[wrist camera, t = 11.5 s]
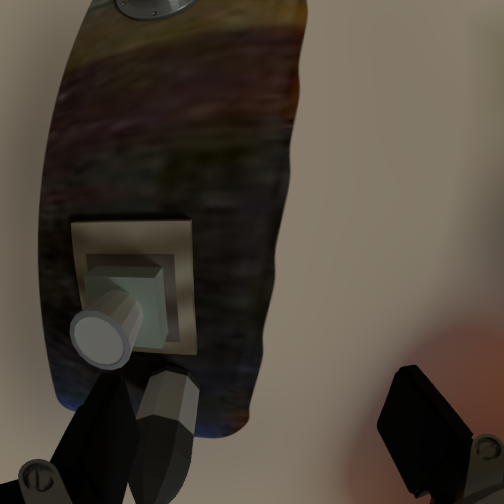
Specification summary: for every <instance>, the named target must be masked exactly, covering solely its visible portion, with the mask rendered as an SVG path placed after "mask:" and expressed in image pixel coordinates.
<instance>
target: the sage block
mask: <svg viewBox="0 0 504 504" xmlns="http://www.w3.org/2000/svg"><path fill="white" fill-rule="evenodd" d="M83 278H84V284H85V291H86V296H87V302H88V305H90V304H91V303H93V302H94V301H95V300H97V299H98V298H99V297H101V296H102V295H104V294H105V293H107V292H109V291H111V290H122V291H125V292H127V293H130V294H131V295H132V296H133V297H134V298H135V299H136V300H137V301H138V303H139V304H140V306H141V308H142V313H143V319H142V323H141V326H140V329H139V332H138V334H137V337H136V340H135V343H134V346H133V347H146V348H160V349H162V348H163V345H164V343H165V340H166V337H167V334H168V325H167V315H166V305H165V293H164V281H163V267H138V266H95V267H94V268H93V269H91V270H90V271H89V272H87V273H86V274H85V275H83Z"/></svg>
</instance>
